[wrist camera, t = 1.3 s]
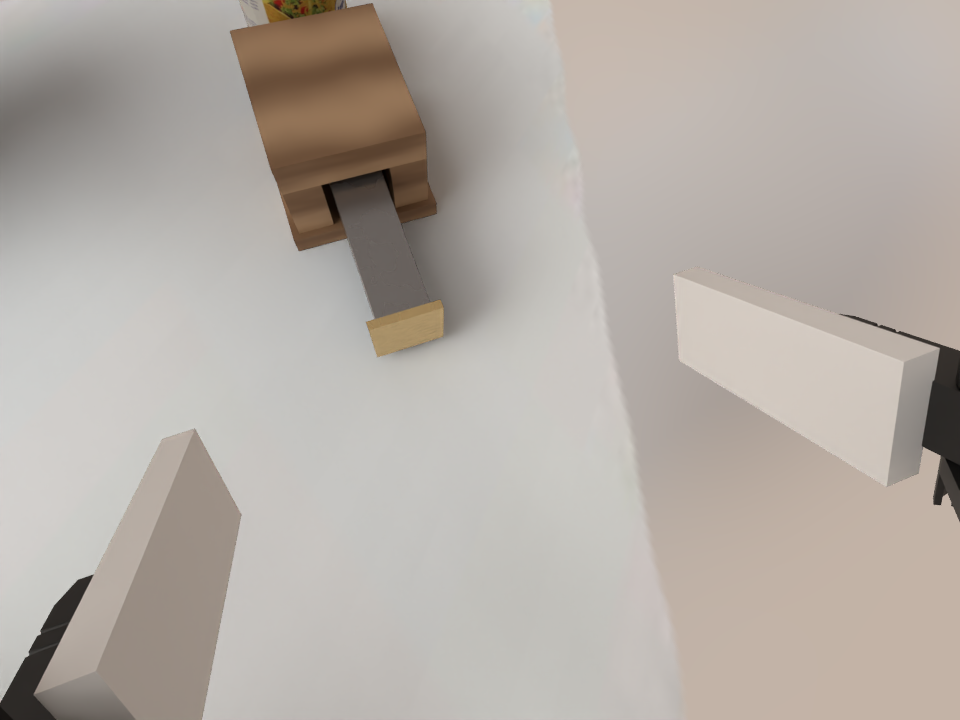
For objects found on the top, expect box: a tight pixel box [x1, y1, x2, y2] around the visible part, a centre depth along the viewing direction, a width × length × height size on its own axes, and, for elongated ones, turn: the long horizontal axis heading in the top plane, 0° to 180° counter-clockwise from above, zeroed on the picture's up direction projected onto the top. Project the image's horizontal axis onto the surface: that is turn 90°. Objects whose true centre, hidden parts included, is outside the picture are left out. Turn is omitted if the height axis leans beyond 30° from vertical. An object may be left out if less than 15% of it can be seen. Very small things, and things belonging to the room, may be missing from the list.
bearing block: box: [230, 3, 436, 251], centre depth 40 cm, size 13×11×8 cm
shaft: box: [329, 170, 444, 357], centre depth 38 cm, size 21×5×5 cm, turn 20°
